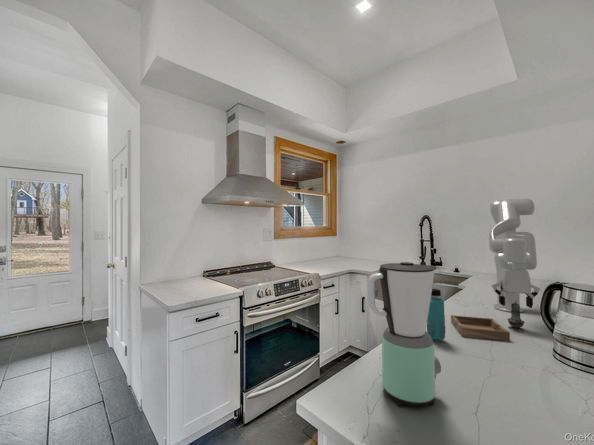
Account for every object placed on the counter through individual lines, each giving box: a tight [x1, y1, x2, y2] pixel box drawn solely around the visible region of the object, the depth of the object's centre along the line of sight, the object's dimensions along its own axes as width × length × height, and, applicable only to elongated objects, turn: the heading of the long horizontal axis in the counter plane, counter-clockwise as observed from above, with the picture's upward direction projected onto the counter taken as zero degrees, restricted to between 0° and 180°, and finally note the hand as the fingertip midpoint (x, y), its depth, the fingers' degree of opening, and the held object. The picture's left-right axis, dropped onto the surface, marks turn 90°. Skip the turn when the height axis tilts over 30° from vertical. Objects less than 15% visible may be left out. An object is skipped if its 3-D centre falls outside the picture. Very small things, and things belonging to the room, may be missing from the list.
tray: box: [450, 315, 511, 342], centre depth 113 cm, size 16×16×4 cm
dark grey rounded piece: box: [506, 301, 525, 332], centre depth 115 cm, size 6×6×12 cm
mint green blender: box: [367, 261, 442, 408], centre depth 70 cm, size 19×13×35 cm
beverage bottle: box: [426, 288, 446, 341], centre depth 104 cm, size 6×7×20 cm
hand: (515, 305), depth 115 cm, fingers open, 9 cm apart
